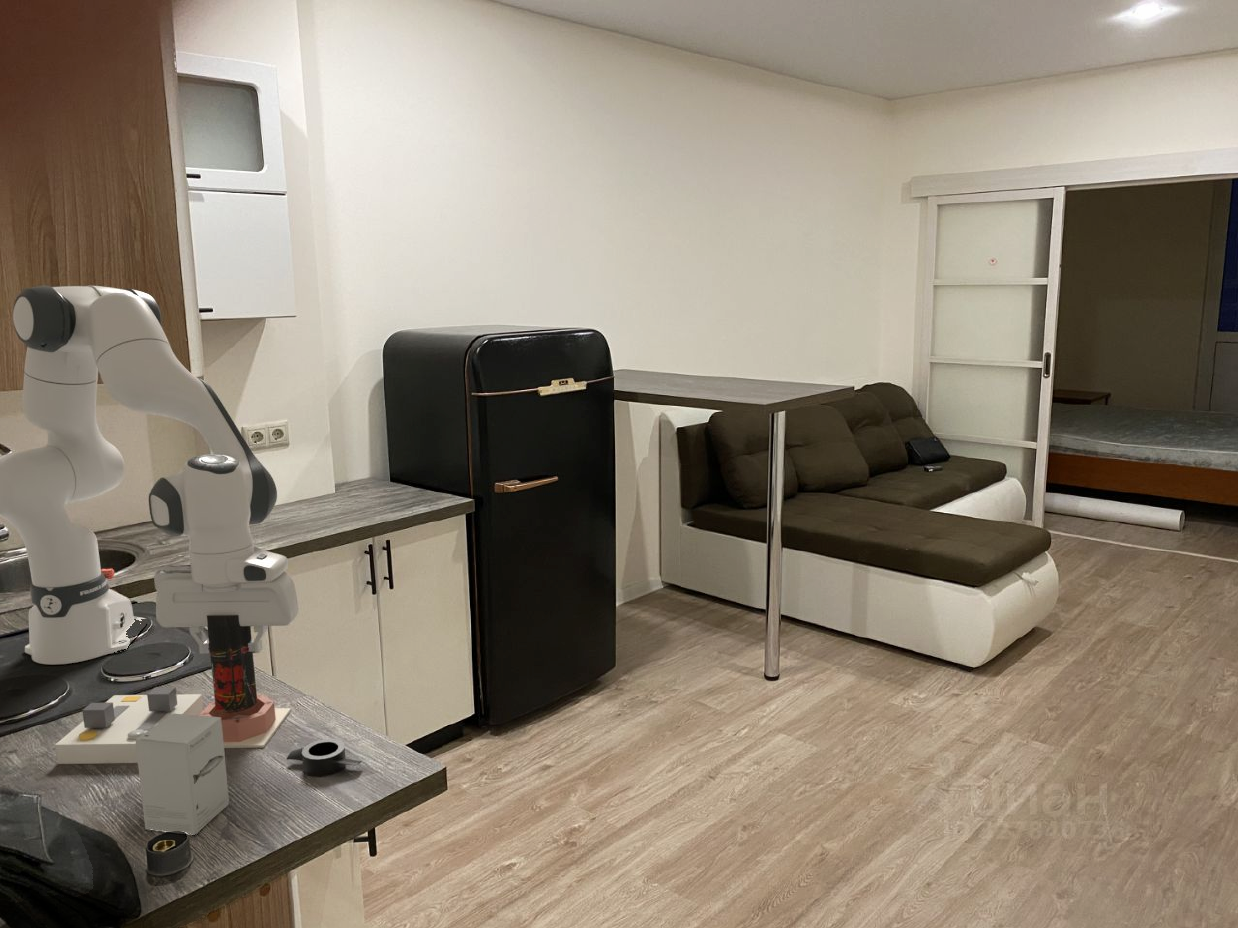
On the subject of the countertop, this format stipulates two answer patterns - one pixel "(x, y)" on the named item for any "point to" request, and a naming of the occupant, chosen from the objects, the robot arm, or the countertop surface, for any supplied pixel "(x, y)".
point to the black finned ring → (322, 757)
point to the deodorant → (231, 663)
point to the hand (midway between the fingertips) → (231, 651)
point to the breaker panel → (120, 731)
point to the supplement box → (182, 773)
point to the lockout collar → (249, 723)
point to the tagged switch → (98, 715)
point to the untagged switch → (162, 699)
